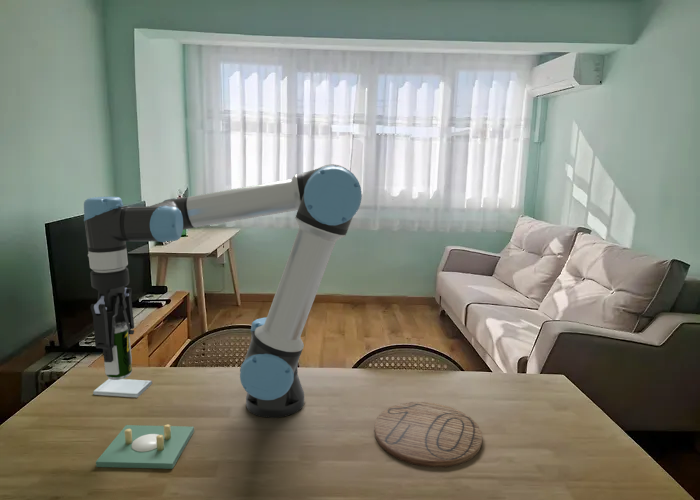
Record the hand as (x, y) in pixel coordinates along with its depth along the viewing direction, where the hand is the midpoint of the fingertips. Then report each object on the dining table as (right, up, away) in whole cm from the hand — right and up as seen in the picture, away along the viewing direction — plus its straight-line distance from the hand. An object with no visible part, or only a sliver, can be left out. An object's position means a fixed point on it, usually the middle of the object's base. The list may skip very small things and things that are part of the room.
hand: (119, 367), depth 113 cm
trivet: (+71, -18, +5) cm, 73 cm away
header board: (+8, -17, -2) cm, 19 cm away
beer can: (0, -2, 0) cm, 2 cm away
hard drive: (-10, -12, +24) cm, 29 cm away
